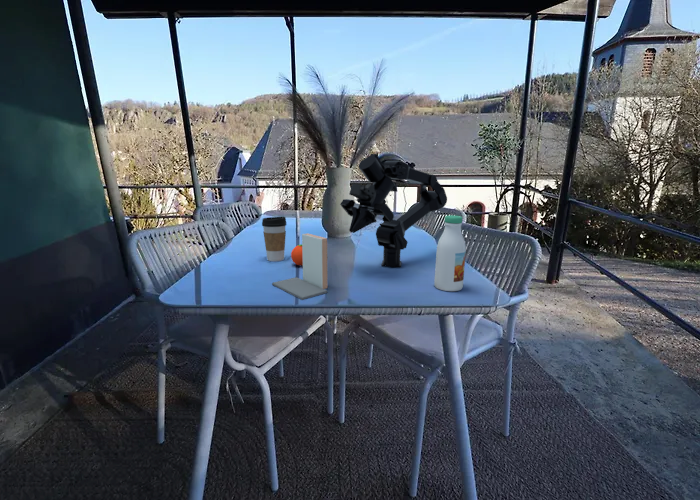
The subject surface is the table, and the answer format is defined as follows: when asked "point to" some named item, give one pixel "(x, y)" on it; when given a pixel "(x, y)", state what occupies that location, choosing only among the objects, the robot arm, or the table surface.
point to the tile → (315, 260)
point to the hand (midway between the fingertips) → (351, 231)
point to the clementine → (297, 255)
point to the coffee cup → (274, 237)
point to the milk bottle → (450, 256)
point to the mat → (299, 288)
